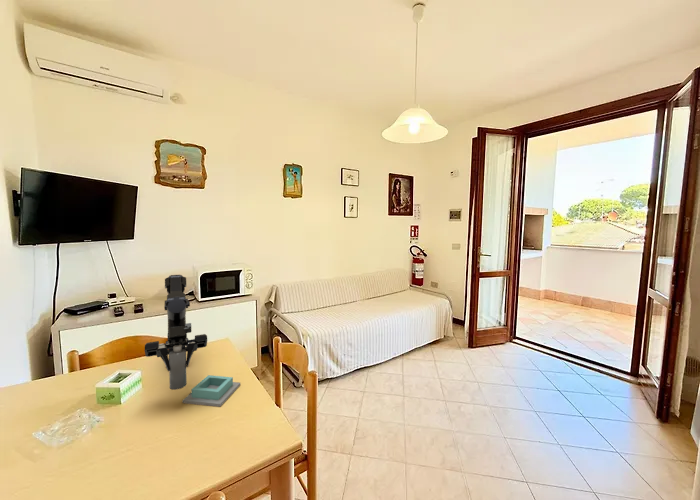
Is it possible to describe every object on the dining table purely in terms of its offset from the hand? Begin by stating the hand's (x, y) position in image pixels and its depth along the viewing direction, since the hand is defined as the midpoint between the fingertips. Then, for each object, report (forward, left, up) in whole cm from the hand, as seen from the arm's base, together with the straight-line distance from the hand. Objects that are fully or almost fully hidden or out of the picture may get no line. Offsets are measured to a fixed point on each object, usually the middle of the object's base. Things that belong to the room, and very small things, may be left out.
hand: (178, 368), depth 98 cm
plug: (-1, -1, -7) cm, 7 cm away
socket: (-9, +7, -13) cm, 18 cm away
